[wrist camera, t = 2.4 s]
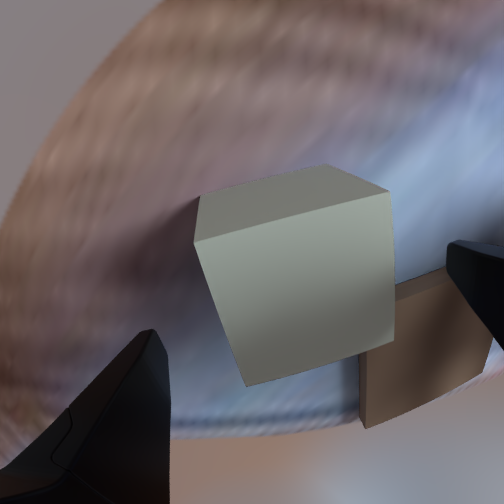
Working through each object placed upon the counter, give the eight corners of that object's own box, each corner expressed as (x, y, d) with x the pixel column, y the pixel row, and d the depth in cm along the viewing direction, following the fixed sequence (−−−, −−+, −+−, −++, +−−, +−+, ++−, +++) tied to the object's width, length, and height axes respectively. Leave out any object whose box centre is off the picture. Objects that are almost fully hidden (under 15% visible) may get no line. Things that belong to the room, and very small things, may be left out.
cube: (325, 163, 12) (390, 191, 7) (342, 273, 14) (393, 340, 9) (200, 195, 12) (193, 242, 7) (233, 303, 14) (246, 386, 9)
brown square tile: (497, 245, 15) (510, 253, 14) (473, 363, 19) (482, 372, 18) (355, 298, 15) (365, 312, 13) (359, 416, 19) (365, 429, 18)
